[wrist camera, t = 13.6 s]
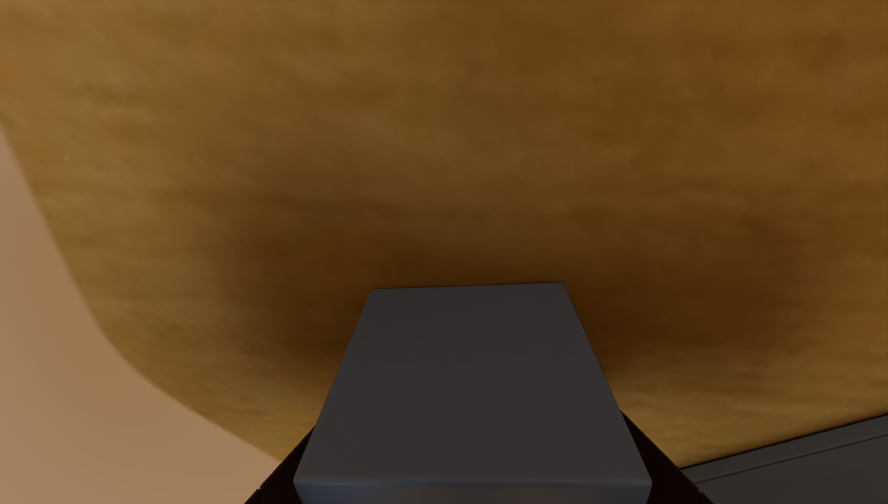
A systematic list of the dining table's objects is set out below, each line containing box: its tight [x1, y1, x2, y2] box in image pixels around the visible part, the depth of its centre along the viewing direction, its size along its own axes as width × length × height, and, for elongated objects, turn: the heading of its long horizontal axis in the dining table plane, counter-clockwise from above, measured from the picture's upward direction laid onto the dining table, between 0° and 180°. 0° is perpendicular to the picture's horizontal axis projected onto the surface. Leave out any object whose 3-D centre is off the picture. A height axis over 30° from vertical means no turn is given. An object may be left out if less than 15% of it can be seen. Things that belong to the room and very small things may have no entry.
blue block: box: [294, 282, 652, 504], centre depth 8 cm, size 5×5×5 cm
